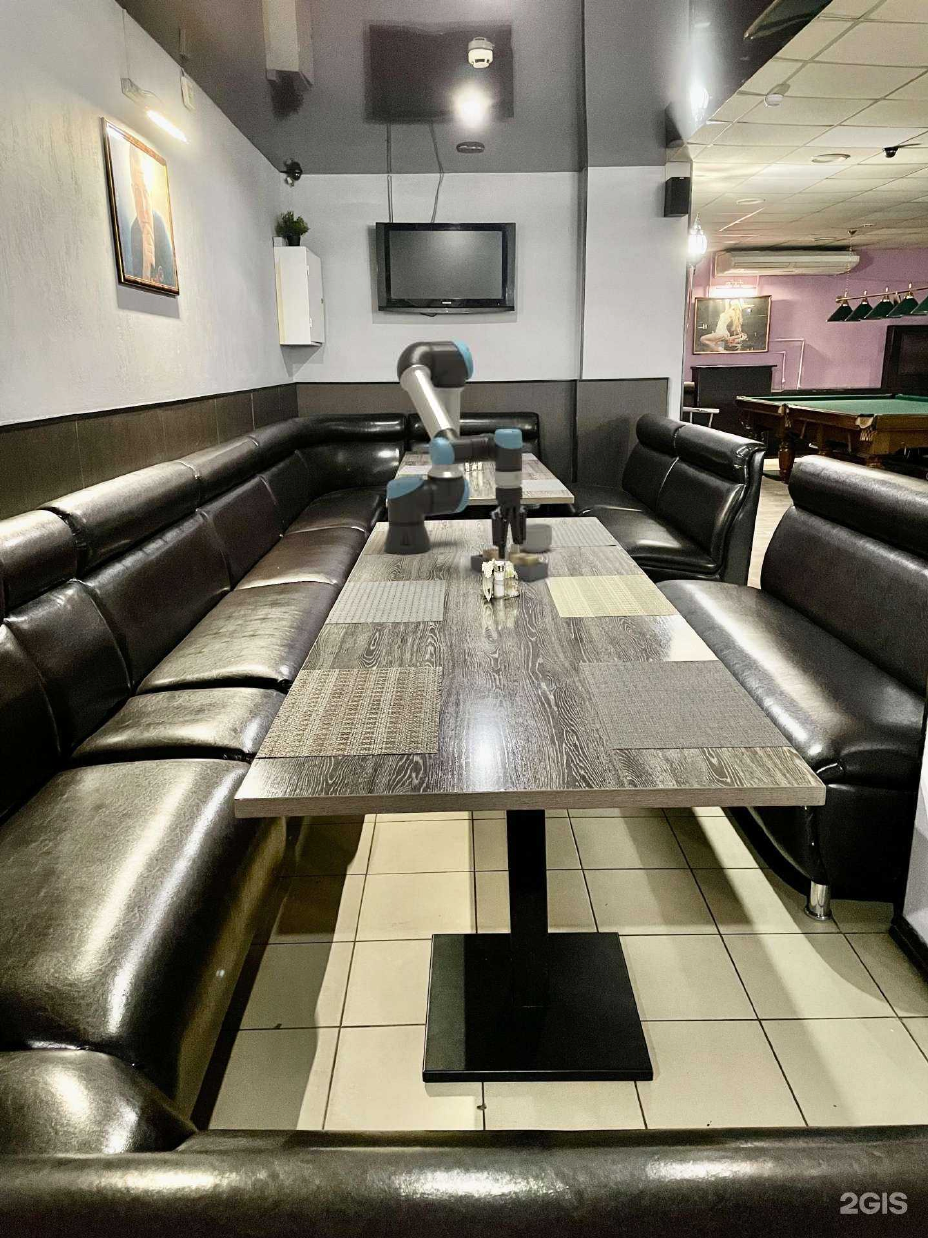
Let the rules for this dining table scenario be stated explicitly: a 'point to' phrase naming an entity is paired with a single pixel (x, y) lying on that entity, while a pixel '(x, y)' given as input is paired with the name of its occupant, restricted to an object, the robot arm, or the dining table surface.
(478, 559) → the grey u-channel bracket
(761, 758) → the dining table surface
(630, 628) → the dining table surface
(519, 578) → the grey hollow tray
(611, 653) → the dining table surface
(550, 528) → the teacup
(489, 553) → the tan long bar
